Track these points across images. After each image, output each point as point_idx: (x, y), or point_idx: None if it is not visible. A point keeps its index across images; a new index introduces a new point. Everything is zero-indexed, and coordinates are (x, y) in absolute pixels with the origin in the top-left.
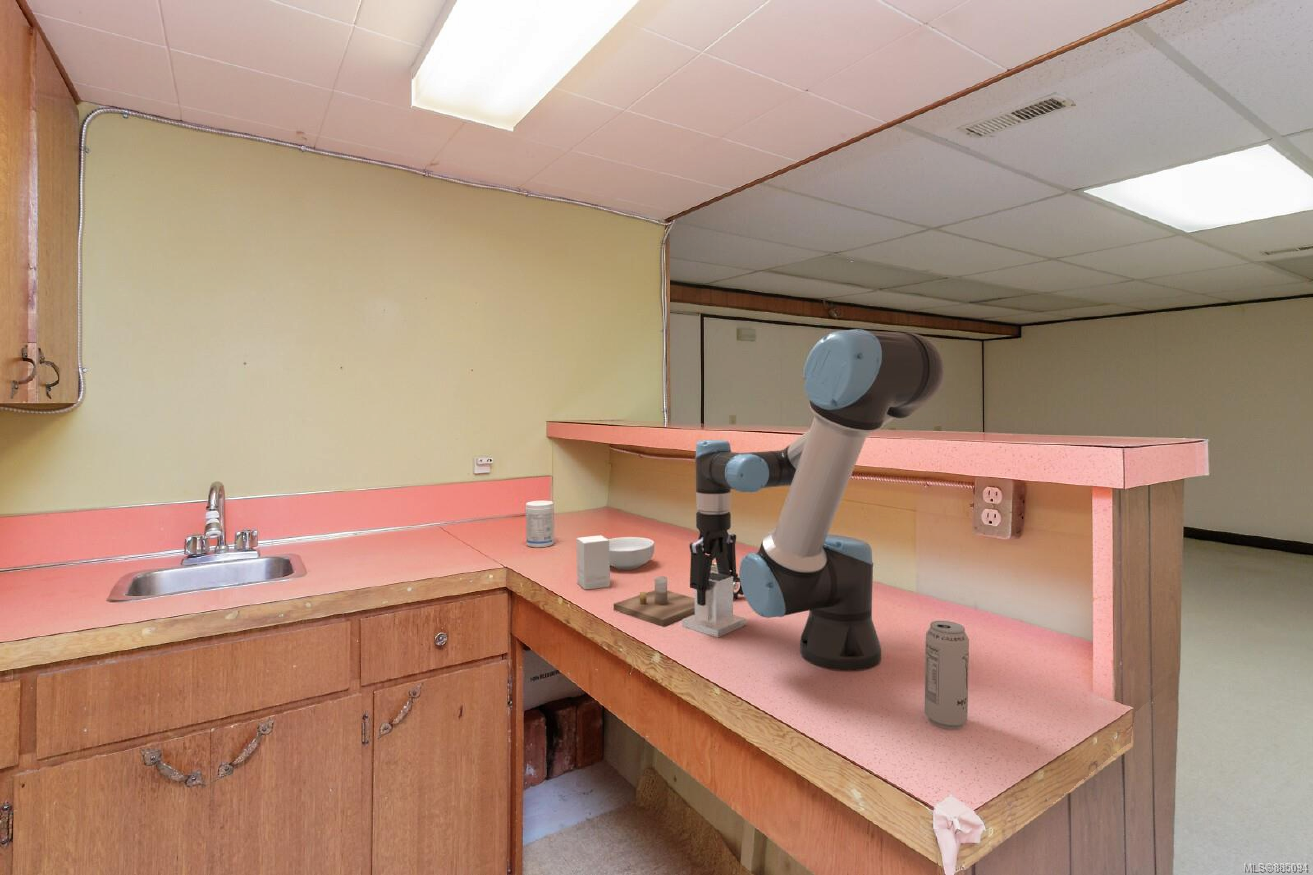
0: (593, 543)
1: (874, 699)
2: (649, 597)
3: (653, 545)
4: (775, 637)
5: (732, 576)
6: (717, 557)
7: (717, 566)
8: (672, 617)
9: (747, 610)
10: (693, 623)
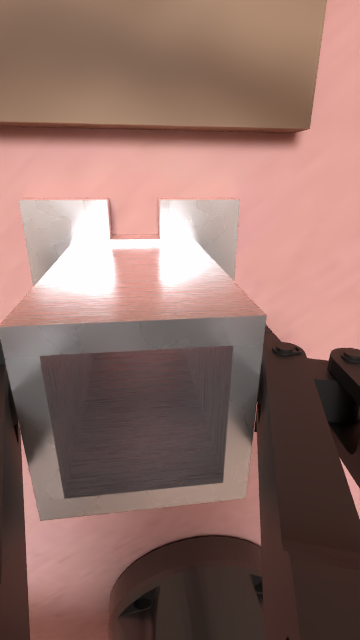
0: None
1: None
2: None
3: None
4: None
5: (240, 496)
6: (275, 547)
7: (270, 420)
8: (12, 123)
9: (356, 280)
10: (31, 273)
